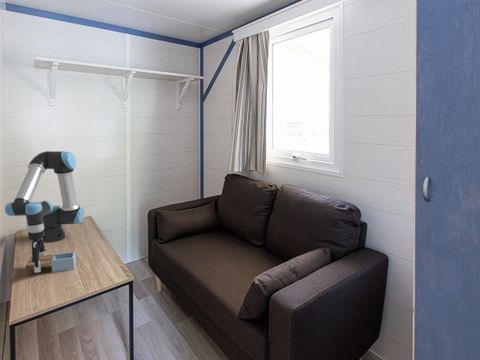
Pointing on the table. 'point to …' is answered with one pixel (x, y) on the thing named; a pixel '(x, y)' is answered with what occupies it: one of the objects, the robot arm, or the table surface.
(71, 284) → the table surface
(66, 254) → the slide box
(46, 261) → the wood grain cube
